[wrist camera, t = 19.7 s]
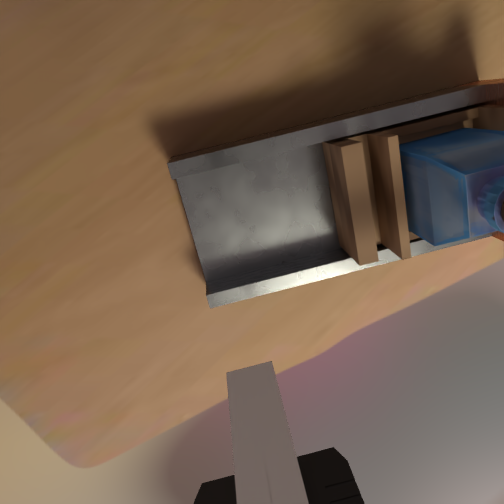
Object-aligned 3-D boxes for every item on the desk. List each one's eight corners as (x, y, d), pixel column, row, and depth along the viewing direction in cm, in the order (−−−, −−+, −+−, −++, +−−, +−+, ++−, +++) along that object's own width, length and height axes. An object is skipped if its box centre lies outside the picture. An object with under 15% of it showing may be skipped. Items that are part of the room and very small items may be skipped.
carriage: (321, 141, 35) (344, 148, 29) (465, 105, 35) (516, 105, 29) (339, 244, 38) (363, 269, 32) (472, 211, 38) (518, 229, 32)
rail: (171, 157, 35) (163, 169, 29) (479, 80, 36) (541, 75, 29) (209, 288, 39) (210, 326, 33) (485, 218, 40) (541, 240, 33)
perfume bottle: (469, 203, 36) (592, 250, 24) (396, 223, 35) (486, 278, 24) (464, 127, 33) (596, 139, 22) (386, 147, 33) (480, 169, 22)
